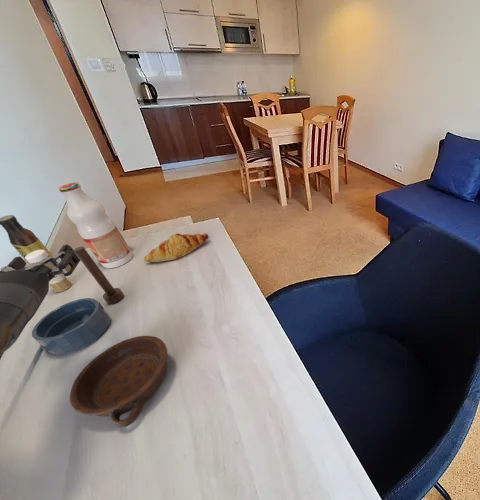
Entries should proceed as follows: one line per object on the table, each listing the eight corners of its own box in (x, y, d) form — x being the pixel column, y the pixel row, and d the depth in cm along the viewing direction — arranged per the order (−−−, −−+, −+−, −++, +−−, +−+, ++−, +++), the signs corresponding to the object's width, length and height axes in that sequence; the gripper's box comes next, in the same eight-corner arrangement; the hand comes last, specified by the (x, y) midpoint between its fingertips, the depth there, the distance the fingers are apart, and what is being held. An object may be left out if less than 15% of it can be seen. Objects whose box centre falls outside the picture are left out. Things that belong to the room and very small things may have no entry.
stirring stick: (105, 306, 86) (65, 255, 76) (109, 296, 89) (71, 247, 79) (123, 301, 87) (86, 250, 77) (125, 291, 91) (90, 242, 80)
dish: (167, 330, 76) (158, 317, 73) (185, 397, 61) (175, 384, 58) (85, 370, 69) (71, 356, 66) (82, 458, 53) (64, 445, 50)
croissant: (152, 276, 102) (142, 265, 95) (142, 253, 105) (132, 241, 98) (215, 250, 110) (210, 238, 104) (204, 230, 114) (199, 217, 107)
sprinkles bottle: (53, 294, 93) (22, 260, 85) (56, 286, 96) (26, 252, 88) (71, 288, 94) (42, 254, 86) (73, 281, 98) (45, 247, 90)
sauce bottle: (35, 267, 106) (-9, 218, 95) (57, 259, 110) (17, 210, 98) (36, 275, 102) (-10, 224, 91) (58, 266, 106) (17, 216, 94)
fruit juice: (123, 267, 101) (72, 190, 85) (96, 270, 101) (40, 193, 85) (139, 251, 109) (94, 177, 93) (113, 253, 109) (64, 180, 93)
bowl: (39, 364, 71) (21, 349, 68) (59, 325, 81) (44, 309, 78) (105, 342, 75) (91, 326, 71) (116, 307, 85) (104, 291, 82)
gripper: (45, 271, 53) (73, 229, 65) (-61, 300, 49) (-10, 249, 61) (71, 302, 57) (93, 257, 69) (-24, 330, 53) (17, 277, 65)
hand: (45, 254), depth 65 cm, fingers open, 8 cm apart
